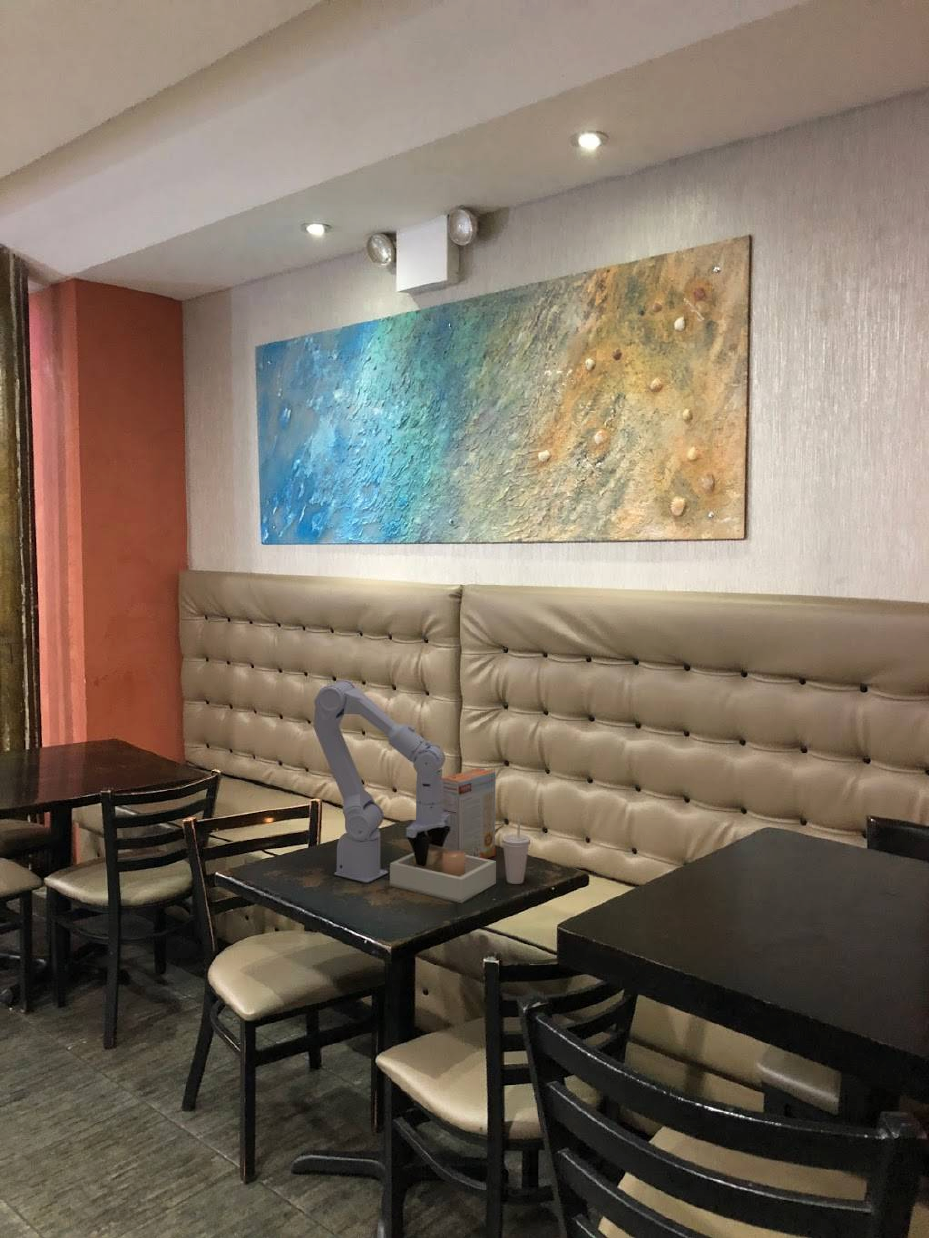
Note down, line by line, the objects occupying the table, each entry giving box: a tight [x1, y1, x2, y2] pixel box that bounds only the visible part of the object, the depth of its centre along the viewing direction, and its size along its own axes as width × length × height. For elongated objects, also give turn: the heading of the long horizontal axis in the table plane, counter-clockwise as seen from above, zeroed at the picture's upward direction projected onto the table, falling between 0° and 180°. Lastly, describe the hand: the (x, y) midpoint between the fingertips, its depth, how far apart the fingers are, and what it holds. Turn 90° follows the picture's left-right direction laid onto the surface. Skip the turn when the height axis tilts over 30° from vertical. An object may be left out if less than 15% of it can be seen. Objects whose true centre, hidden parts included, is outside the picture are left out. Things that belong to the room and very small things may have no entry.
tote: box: [389, 852, 497, 904], centre depth 209 cm, size 18×14×5 cm
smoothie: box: [501, 818, 531, 885], centre depth 212 cm, size 6×6×14 cm
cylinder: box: [442, 850, 466, 877], centre depth 207 cm, size 5×5×7 cm
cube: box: [414, 844, 446, 872], centre depth 211 cm, size 5×5×5 cm
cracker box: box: [442, 767, 496, 859], centre depth 225 cm, size 14×6×21 cm, turn 141°
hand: (428, 861), depth 211 cm, fingers closed on cube, 5 cm apart
